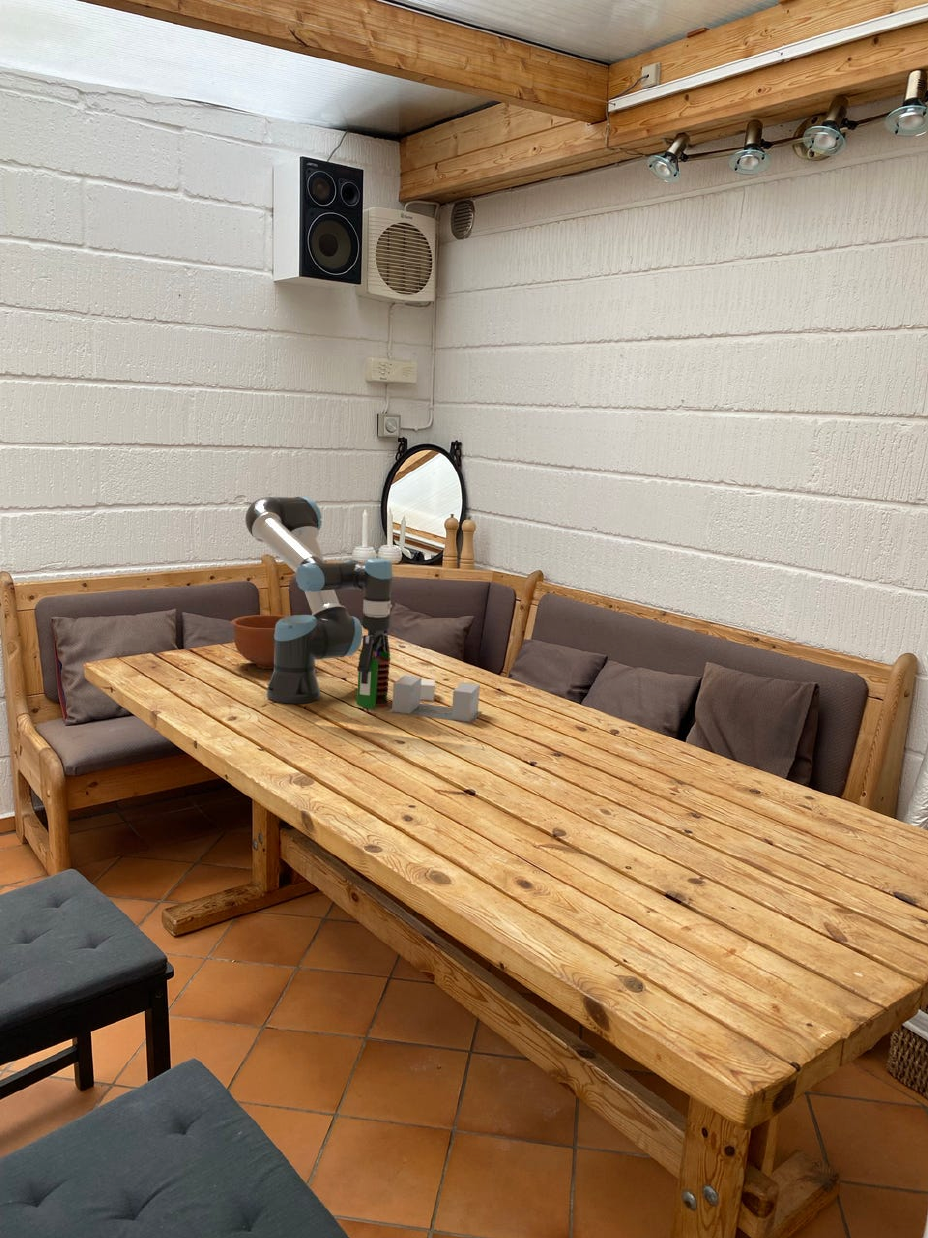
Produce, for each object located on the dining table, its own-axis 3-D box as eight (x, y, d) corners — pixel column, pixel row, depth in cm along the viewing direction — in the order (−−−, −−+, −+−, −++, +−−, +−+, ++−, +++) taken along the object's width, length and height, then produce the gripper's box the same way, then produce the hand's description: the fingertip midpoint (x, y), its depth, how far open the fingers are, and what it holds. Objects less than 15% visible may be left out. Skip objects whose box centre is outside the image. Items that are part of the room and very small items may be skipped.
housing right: (451, 719, 259) (453, 690, 257) (460, 709, 268) (462, 682, 267) (469, 721, 258) (471, 692, 256) (478, 712, 267) (479, 684, 266)
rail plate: (387, 717, 262) (387, 711, 262) (400, 706, 274) (400, 701, 274) (471, 728, 257) (472, 723, 256) (481, 716, 268) (482, 711, 268)
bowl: (301, 677, 299) (302, 630, 296) (221, 672, 299) (222, 625, 296) (314, 660, 323) (315, 616, 320) (240, 655, 323) (241, 611, 320)
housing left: (392, 711, 263) (393, 683, 261) (403, 702, 272) (404, 675, 271) (409, 713, 262) (411, 685, 260) (420, 704, 271) (421, 677, 270)
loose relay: (416, 704, 277) (417, 684, 276) (417, 698, 284) (418, 678, 283) (433, 705, 277) (434, 685, 276) (434, 699, 284) (435, 679, 283)
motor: (386, 714, 265) (389, 644, 261) (354, 712, 265) (357, 642, 261) (389, 704, 275) (393, 636, 271) (358, 702, 275) (361, 634, 271)
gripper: (374, 623, 252) (370, 701, 256) (403, 609, 276) (399, 680, 280) (347, 620, 254) (344, 697, 257) (378, 606, 277) (375, 677, 281)
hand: (373, 689), depth 269 cm, fingers open, 13 cm apart
